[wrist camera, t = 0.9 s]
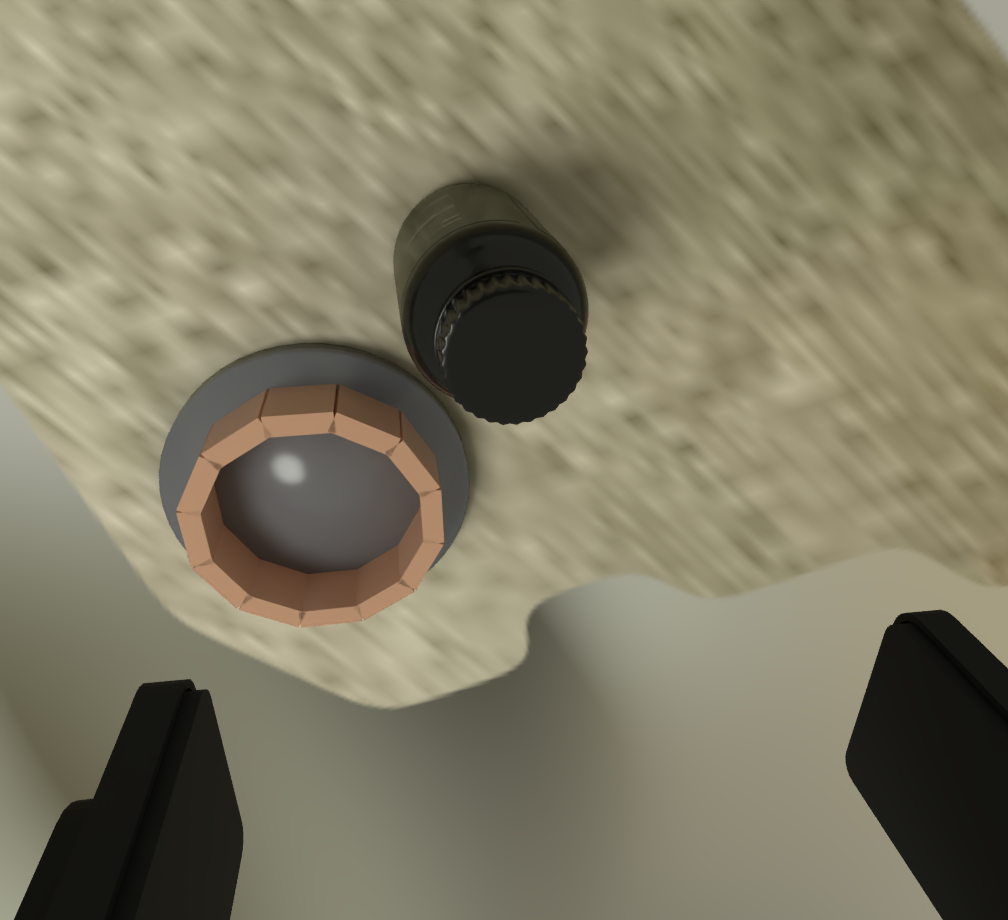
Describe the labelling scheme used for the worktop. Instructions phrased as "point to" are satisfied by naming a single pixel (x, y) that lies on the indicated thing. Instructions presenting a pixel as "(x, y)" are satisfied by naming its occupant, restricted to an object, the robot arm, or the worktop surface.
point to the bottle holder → (314, 483)
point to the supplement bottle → (490, 304)
